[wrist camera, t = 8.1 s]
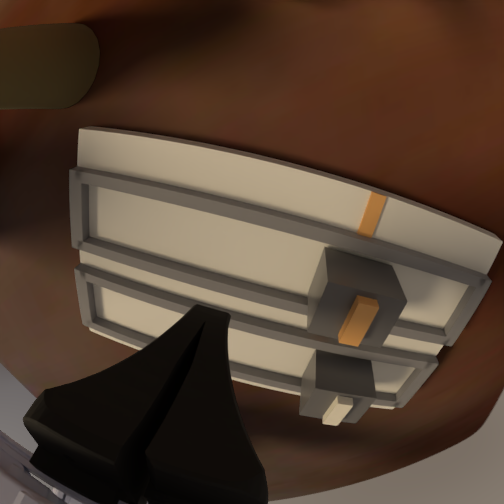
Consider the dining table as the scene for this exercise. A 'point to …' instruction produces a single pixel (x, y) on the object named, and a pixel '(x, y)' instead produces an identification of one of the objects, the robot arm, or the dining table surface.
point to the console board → (260, 255)
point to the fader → (336, 388)
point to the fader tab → (354, 299)
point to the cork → (46, 65)
